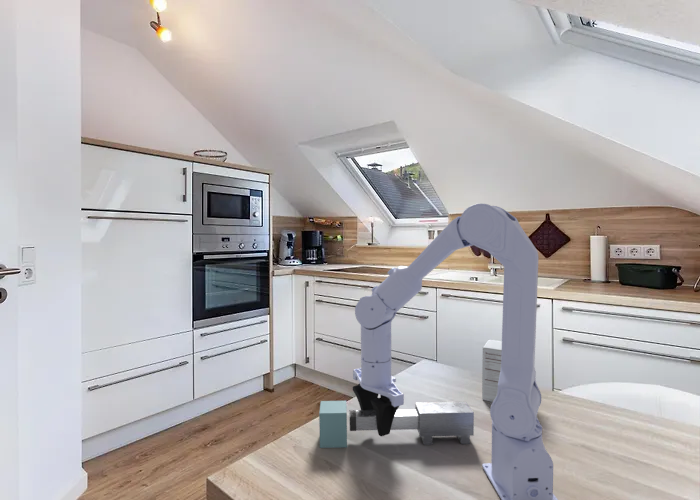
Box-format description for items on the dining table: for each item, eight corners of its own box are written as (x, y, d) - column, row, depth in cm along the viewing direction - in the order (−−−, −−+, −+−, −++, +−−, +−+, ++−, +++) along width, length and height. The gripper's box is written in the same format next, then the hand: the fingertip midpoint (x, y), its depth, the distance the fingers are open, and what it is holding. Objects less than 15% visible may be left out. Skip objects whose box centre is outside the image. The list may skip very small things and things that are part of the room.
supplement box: (487, 388, 96) (488, 338, 95) (519, 395, 92) (520, 343, 92) (481, 400, 90) (481, 346, 89) (515, 407, 86) (516, 351, 85)
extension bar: (440, 429, 72) (440, 415, 72) (349, 431, 72) (349, 416, 72) (436, 422, 75) (437, 408, 75) (349, 423, 75) (349, 410, 75)
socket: (347, 447, 71) (346, 412, 71) (319, 447, 71) (319, 413, 71) (346, 432, 76) (346, 400, 76) (321, 433, 76) (320, 401, 76)
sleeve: (473, 443, 72) (473, 412, 71) (419, 444, 72) (419, 413, 71) (465, 431, 76) (466, 401, 76) (415, 432, 76) (415, 402, 76)
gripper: (417, 365, 68) (417, 440, 69) (373, 344, 81) (373, 407, 82) (384, 373, 65) (384, 451, 66) (343, 350, 78) (344, 415, 78)
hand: (376, 428), depth 73 cm, fingers closed on extension bar, 4 cm apart
